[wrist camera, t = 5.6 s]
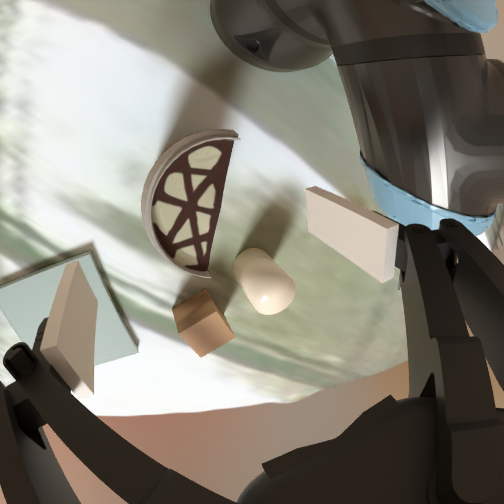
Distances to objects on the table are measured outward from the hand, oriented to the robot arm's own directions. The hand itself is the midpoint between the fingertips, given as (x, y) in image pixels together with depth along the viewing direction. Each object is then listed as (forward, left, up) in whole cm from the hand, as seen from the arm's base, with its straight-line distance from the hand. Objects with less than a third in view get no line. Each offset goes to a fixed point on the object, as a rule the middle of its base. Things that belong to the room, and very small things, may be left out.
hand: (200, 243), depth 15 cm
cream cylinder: (-7, +13, -16) cm, 22 cm away
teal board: (+18, +12, -16) cm, 27 cm away
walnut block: (+1, +17, -17) cm, 24 cm away
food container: (0, 0, -17) cm, 17 cm away
